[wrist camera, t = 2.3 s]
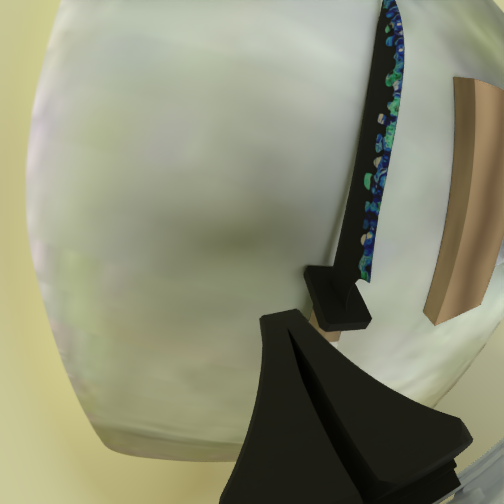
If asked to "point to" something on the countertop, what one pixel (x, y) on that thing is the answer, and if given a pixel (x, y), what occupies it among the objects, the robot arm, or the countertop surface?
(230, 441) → the countertop surface
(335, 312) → the knife
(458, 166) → the walnut board
